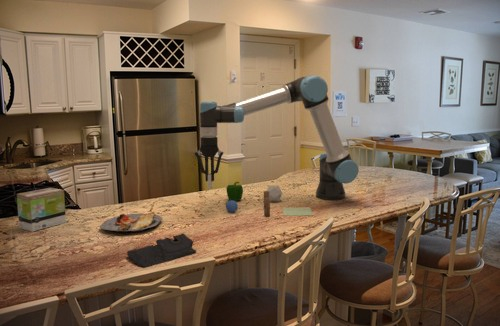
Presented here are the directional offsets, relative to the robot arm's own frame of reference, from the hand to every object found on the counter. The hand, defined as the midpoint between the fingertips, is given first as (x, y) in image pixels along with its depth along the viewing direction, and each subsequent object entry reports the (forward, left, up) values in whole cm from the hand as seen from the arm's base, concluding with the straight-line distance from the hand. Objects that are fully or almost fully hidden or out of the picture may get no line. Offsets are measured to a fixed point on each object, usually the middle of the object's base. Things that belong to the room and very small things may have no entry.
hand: (210, 188), depth 183 cm
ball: (-10, 0, -9) cm, 13 cm away
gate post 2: (-26, +6, -11) cm, 29 cm away
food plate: (+30, +19, -12) cm, 38 cm away
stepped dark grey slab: (+11, +49, -12) cm, 52 cm away
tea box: (+68, +18, -12) cm, 72 cm away
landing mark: (-40, 0, -11) cm, 41 cm away
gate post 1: (-26, -6, -11) cm, 29 cm away
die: (-30, -20, -12) cm, 38 cm away
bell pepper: (-10, -21, -12) cm, 26 cm away
